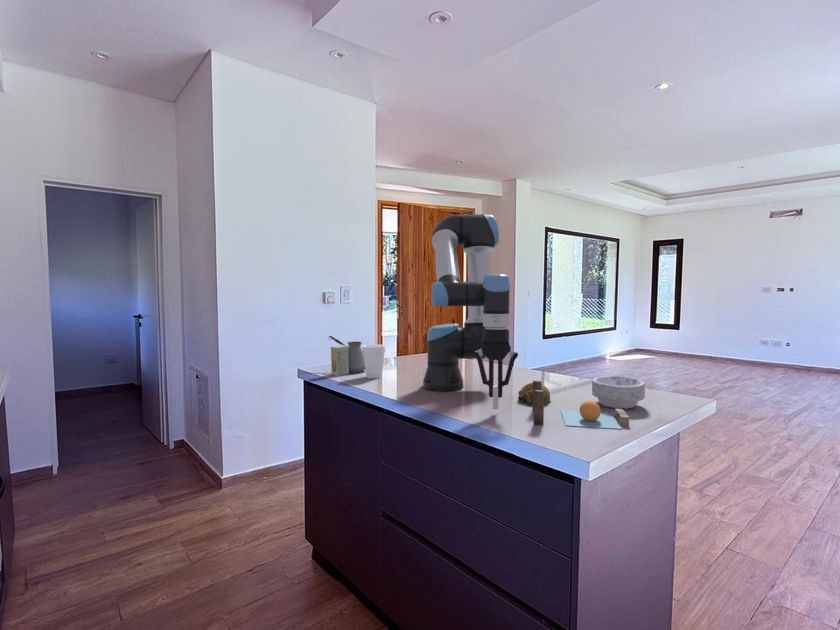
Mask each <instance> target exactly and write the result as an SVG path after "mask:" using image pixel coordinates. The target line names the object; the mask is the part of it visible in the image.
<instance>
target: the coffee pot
mask: <svg viewBox="0 0 840 630" xmlns="http://www.w3.org/2000/svg"><path fill="white" fill-rule="evenodd" d="M329 338H330V339H329ZM327 340H330V341H331V340H333V341H334V342H336V343H337V344H339V345H340V346H341V345H344V346H348V363H349V374H350V373H351V374H352V373H353V374H354V373H357V372H358V373H362V371H363V372H364V371H366V370H365V363H364V356H363V352H362V347H361V346H362V344H363V343H362V341H348V342H347V345H346V344H344V343H343V342H341V341H340V340H339V339H337V338H335V337H334V336H332V335H329V336H328V337H327Z"/></svg>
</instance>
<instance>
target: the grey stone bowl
mask: <svg viewBox="0 0 840 630" xmlns="http://www.w3.org/2000/svg"><path fill="white" fill-rule="evenodd" d="M645 389H646V383H645V382H644V381H643V380H642V379H637V378H634V377H626V376H620V375H619V376H617V375H606V376H604V375H602V376H598V377H593V379H592V380H591V394H592V396H594V397H596V398H597V399H598V401H599V403H600V404H601V405H602V406H604V407H607V408H610V409H623V410H624V409H626V410H627V409H628V410H629V409H633V408H635V407H636V406H637V404H638V402H640V401H643V400H644V399H645V395H646V390H645Z"/></svg>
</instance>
